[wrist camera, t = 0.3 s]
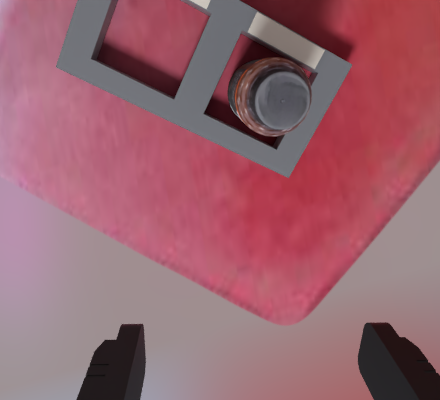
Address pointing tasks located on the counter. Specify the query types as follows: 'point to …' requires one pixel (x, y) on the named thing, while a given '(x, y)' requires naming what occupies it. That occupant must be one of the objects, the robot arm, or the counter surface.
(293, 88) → the supplement bottle
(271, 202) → the counter surface
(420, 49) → the counter surface
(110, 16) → the socket panel
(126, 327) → the robot arm
